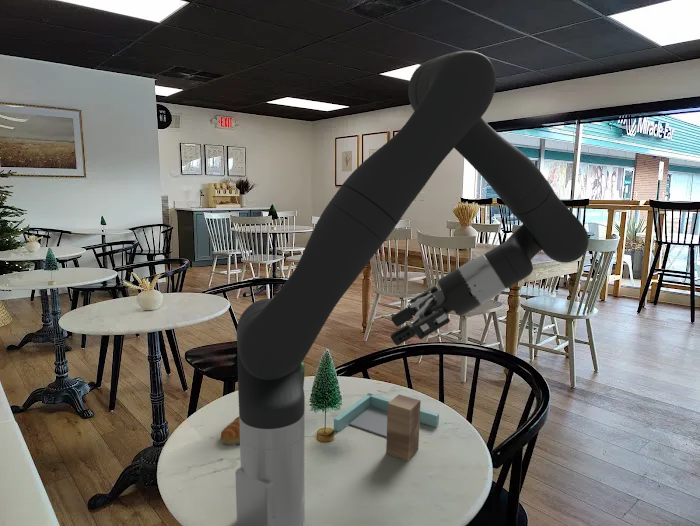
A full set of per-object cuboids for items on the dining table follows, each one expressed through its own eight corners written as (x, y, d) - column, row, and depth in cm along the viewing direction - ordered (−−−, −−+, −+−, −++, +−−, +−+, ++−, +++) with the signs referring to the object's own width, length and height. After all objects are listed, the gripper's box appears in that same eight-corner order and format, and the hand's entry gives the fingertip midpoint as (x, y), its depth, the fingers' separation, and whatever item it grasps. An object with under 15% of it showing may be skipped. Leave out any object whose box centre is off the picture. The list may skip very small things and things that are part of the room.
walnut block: (408, 461, 85) (410, 410, 83) (386, 453, 87) (387, 403, 85) (418, 449, 89) (420, 400, 87) (397, 442, 91) (398, 394, 89)
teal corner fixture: (409, 457, 86) (410, 444, 86) (333, 429, 95) (333, 418, 95) (438, 424, 98) (439, 413, 97) (368, 403, 107) (368, 393, 106)
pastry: (233, 452, 87) (233, 433, 86) (212, 439, 91) (211, 421, 91) (272, 432, 94) (271, 414, 93) (251, 421, 98) (250, 404, 98)
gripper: (455, 258, 88) (383, 301, 91) (466, 279, 74) (380, 329, 78) (475, 290, 89) (403, 332, 92) (490, 316, 75) (405, 364, 79)
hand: (393, 330), depth 85 cm, fingers open, 8 cm apart
